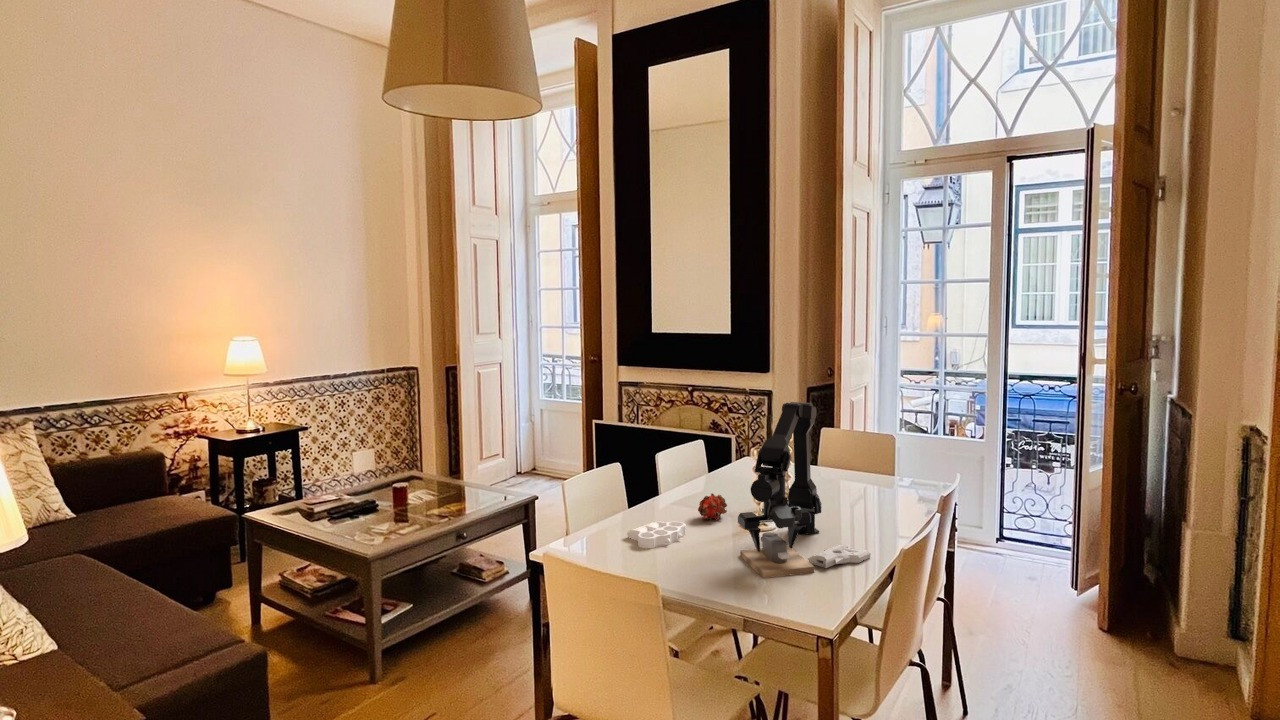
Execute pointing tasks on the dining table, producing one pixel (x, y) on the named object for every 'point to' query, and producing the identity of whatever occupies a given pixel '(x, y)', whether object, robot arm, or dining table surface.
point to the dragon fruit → (712, 507)
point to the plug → (774, 548)
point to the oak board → (771, 569)
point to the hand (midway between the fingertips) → (774, 549)
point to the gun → (839, 556)
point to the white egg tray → (658, 533)
